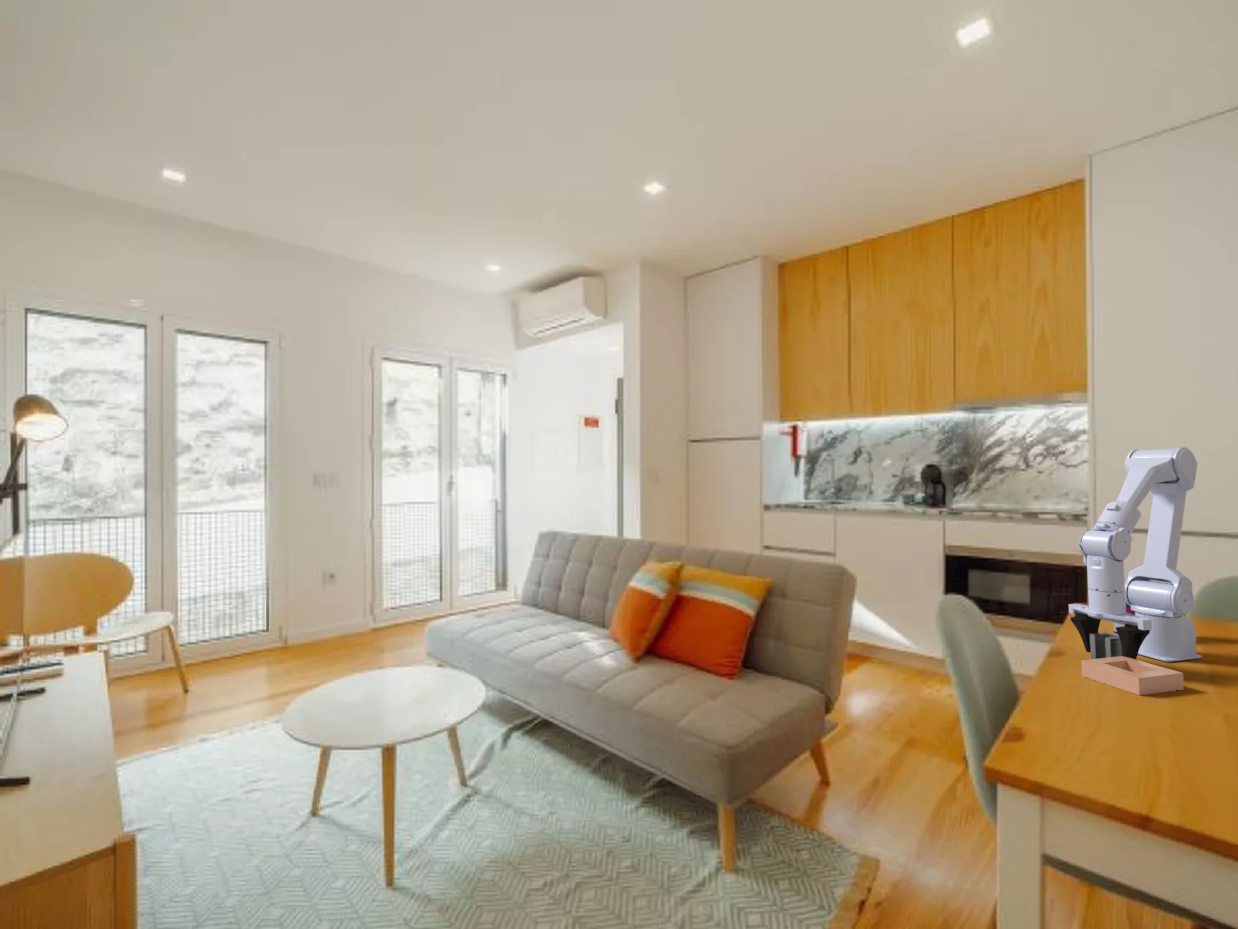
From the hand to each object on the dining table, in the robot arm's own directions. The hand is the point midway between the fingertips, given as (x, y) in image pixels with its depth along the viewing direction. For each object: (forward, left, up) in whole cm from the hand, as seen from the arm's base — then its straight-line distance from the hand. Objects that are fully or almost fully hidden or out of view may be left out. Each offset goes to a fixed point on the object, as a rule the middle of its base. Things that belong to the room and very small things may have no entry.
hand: (1109, 657), depth 114 cm
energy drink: (-24, -14, -2) cm, 28 cm away
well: (+6, +8, -2) cm, 11 cm away
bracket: (0, 0, -2) cm, 2 cm away
